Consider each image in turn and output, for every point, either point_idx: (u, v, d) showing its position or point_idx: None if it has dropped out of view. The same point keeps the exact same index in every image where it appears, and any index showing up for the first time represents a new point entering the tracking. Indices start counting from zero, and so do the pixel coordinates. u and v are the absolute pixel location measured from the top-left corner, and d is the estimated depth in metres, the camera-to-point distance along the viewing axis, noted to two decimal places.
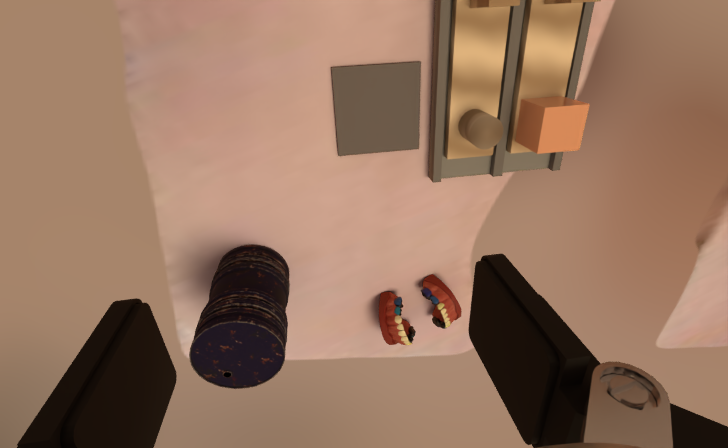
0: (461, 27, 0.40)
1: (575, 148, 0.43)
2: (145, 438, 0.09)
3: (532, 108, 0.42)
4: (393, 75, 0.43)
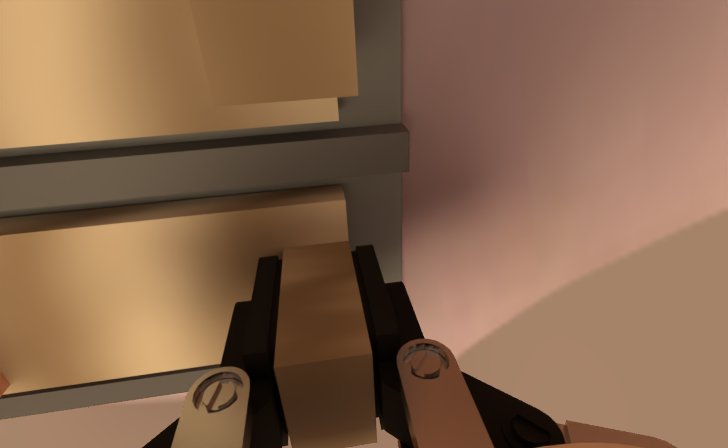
0: None
1: None
2: None
3: None
4: None
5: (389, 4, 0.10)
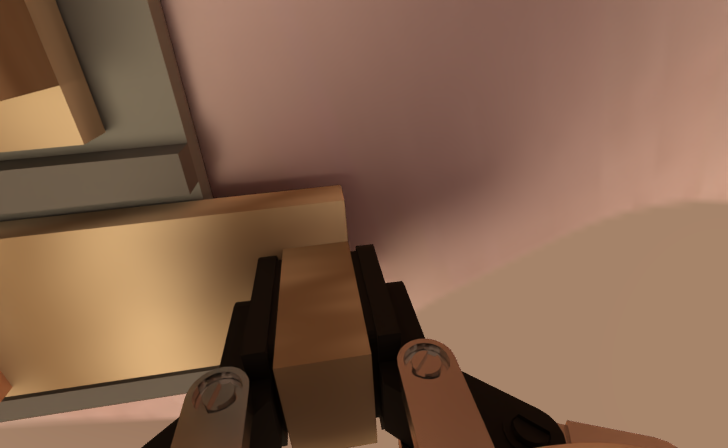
0: None
1: None
2: None
3: None
4: None
5: (138, 20, 0.10)
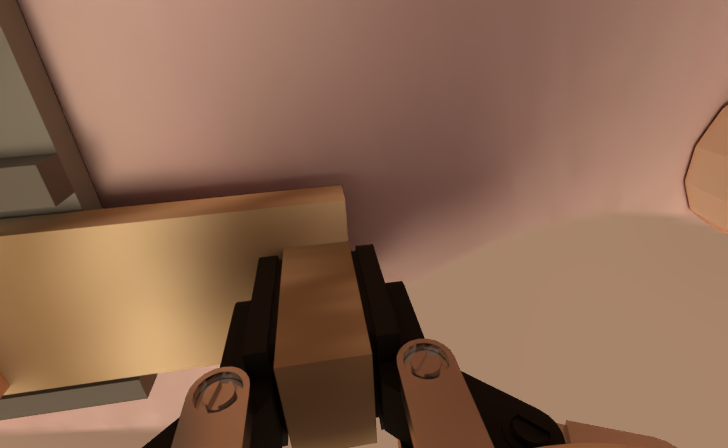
0: None
1: None
2: None
3: None
4: None
5: None
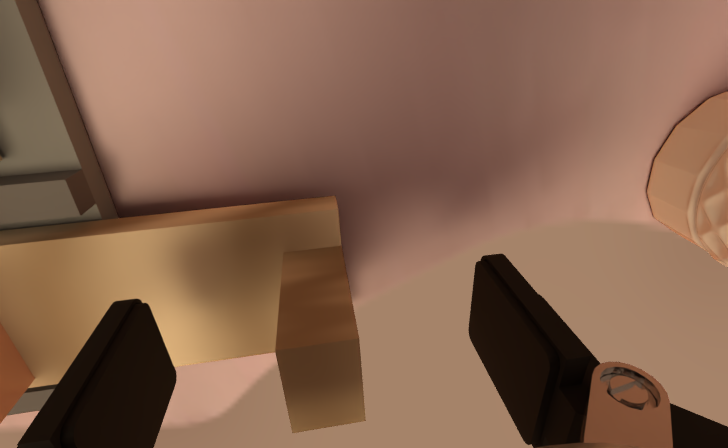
0: None
1: None
2: (145, 438, 0.09)
3: None
4: None
5: (25, 62, 0.11)
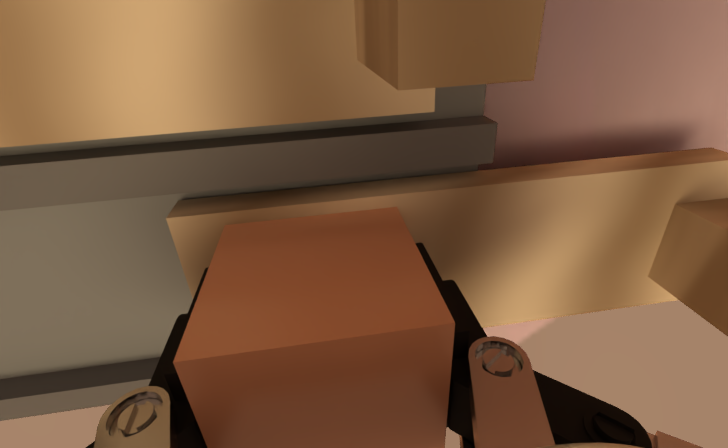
0: None
1: None
2: None
3: (397, 256, 0.09)
4: None
5: None
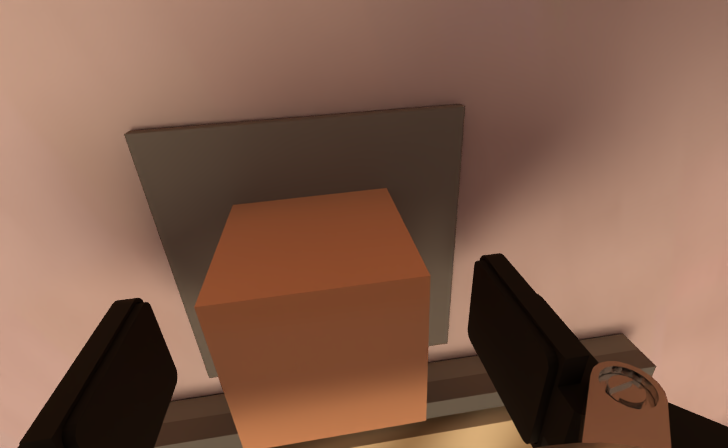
0: None
1: (248, 439, 0.10)
2: (146, 437, 0.09)
3: (385, 227, 0.10)
4: None
5: None
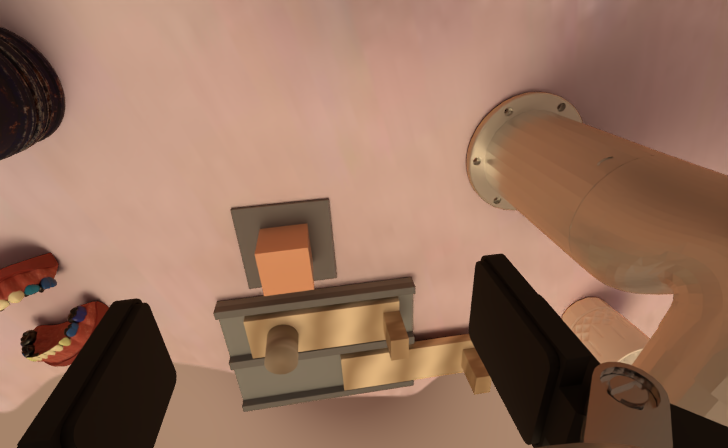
0: (368, 310, 0.45)
1: (265, 292, 0.38)
2: (145, 438, 0.09)
3: (302, 236, 0.38)
4: (323, 256, 0.43)
5: (410, 312, 0.48)
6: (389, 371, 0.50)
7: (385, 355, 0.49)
